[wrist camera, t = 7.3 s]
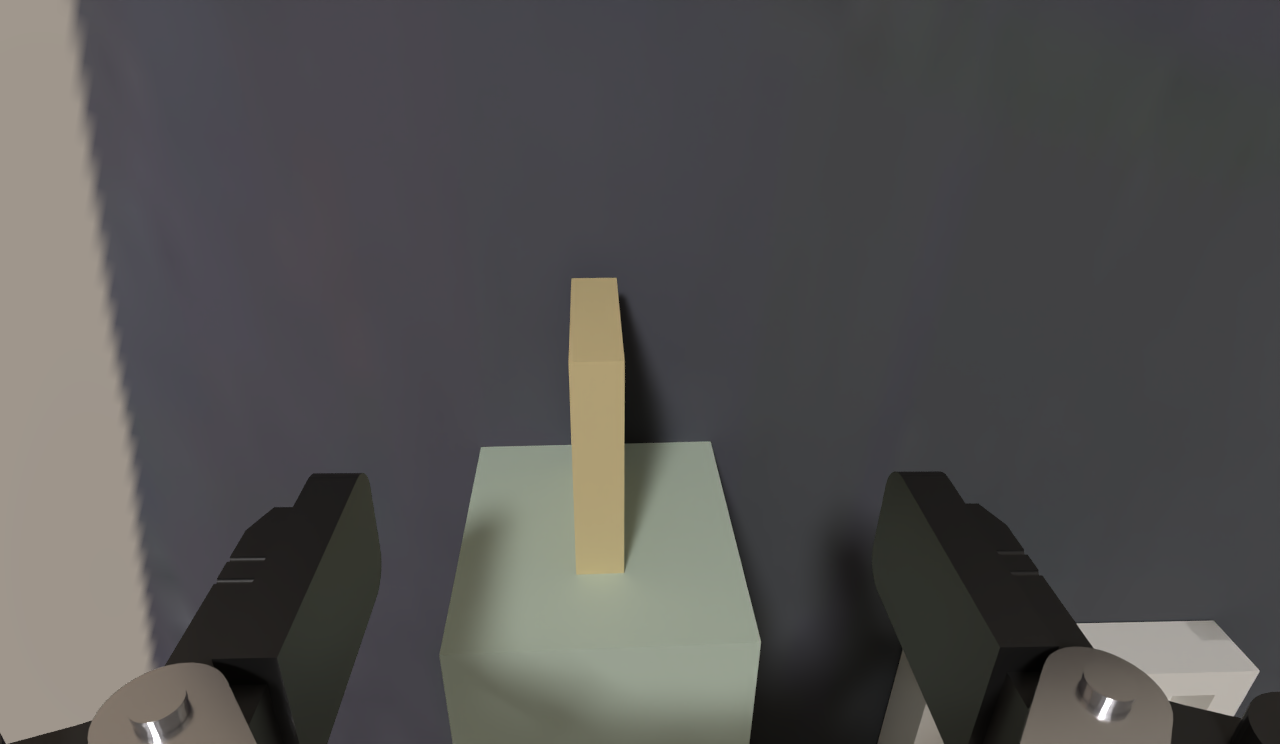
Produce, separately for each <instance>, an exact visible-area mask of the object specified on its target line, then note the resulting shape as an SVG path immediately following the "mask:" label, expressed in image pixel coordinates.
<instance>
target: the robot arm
mask: <svg viewBox="0 0 1280 744" xmlns="http://www.w3.org/2000/svg"><path fill="white" fill-rule="evenodd" d="M872 570H873V577H874V582H875V585H876V589H877V591H878V593H879V596H880V598H881V600H882V603H883V605H884V607H885V610H886V612H887V614H888V616H889V619H890V621H891V623H892V626H893V628H894V630H895V633H896V635H897V637H898V639H899V642H900V644H901V646H902V649H903V651H904V653H905V655H906V658H907V660H908V662H909V665H910V667H911V669H912V672H913V674H914V676H915V678H916V681H917V683H918V685H919V688H920V690H921V692H922V694H923V697H924V699H925V701H926V704H927V706H928V708H929V711H930V713H931V715H932V717H933V720H934V722H935V724H936V727H937V729H938V731H939V734H940V736H941V738H942V740H943V743H944V744H1280V692H1269V693H1265V694H1261V695H1259V696H1257V697H1255V698H1254V699H1253V700H1252V702H1251V703H1250V705H1249V706H1248V708H1247V710H1246V712H1245V714H1244V715H1243V717H1242V718H1238V717H1233V716H1229V715H1225V714H1221V713H1216V712H1212V711H1208V710H1204V709H1200V708H1195V707H1191V706H1187V705H1183V704H1179V703H1175V702H1172V701H1168V699H1167V697H1166V695H1165V694H1164V692H1163V691H1162V690H1161V688H1160V687H1159V686H1158V685H1157V684H1156V683H1155V682H1154V680H1152V679H1151V678H1150V677H1149V676H1148V675H1147V674H1146V673H1144V672H1143V671H1142V670H1140V669H1139V668H1137V667H1136V666H1135V665H1133V664H1131V663H1129V662H1128V661H1126V660H1124V659H1122V658H1120V657H1118V656H1116V655H1113V654H1111V653H1108V652H1105V651H1102V650H1098V649H1094V648H1093V647H1092V645H1091V644H1090V642H1089V641H1088V640H1087V638H1086V637H1085V635H1084V634H1083V632H1082V631H1081V630H1080V628H1079V627H1078V625H1077V624H1076V623H1075V621H1074V620H1073V618H1072V617H1071V615H1070V614H1069V613H1068V611H1067V610H1066V608H1065V607H1064V606H1063V604H1062V603H1061V601H1060V600H1059V599H1058V597H1057V596H1056V594H1055V593H1054V591H1053V590H1052V589H1051V587H1050V586H1049V584H1048V583H1047V582H1046V580H1045V579H1044V577H1043V576H1039V574H1038V569H1037V567H1036V566H1035V565H1034V563H1033V562H1032V560H1031V559H1030V558H1029V556H1028V555H1024V549H1023V548H1022V546H1021V545H1020V543H1019V542H1018V541H1017V539H1016V538H1015V536H1014V535H1013V534H1012V532H1011V531H1010V529H1009V528H1008V527H1007V525H1006V524H1004V523H1003V522H1002V521H1000V520H999V519H998V518H996V517H995V516H994V515H992V514H991V513H990V512H989V511H987V510H986V509H985V508H983V507H982V506H981V505H979V504H965V502H964V501H963V499H962V498H961V496H960V495H959V493H958V492H957V490H956V489H955V487H954V486H953V484H952V483H951V481H950V480H949V478H948V477H947V476H946V474H944V473H943V472H893V473H891V474H890V476H889V478H888V480H887V483H886V488H885V492H884V497H883V502H882V507H881V511H880V516H879V521H878V526H877V530H876V535H875V540H874V545H873V550H872ZM380 578H381V551H380V545H379V539H378V532H377V526H376V520H375V514H374V507H373V501H372V495H371V489H370V483H369V480H368V477H367V476H366V474H364V473H321V474H312V475H311V476H310V477H309V479H308V480H307V482H306V484H305V486H304V488H303V490H302V491H301V493H300V495H299V497H298V499H297V501H296V502H295V504H294V506H293V507H274V508H273V509H272V510H270V511H269V512H268V513H267V514H265V515H264V516H263V517H262V518H261V519H259V520H258V521H257V522H256V523H254V524H253V525H252V526H251V527H249V528H248V529H247V530H246V531H245V533H244V534H243V536H242V538H241V539H240V541H239V543H238V544H237V546H236V548H235V549H234V551H233V553H232V554H231V556H230V562H227V563H226V565H225V566H224V568H223V570H222V571H221V573H220V575H219V576H218V578H217V584H214V585H213V586H212V588H211V590H210V591H209V593H208V595H207V596H206V598H205V600H204V601H203V603H202V605H201V606H200V608H199V610H198V611H197V613H196V615H195V616H194V618H193V620H192V621H191V623H190V625H189V626H188V628H187V630H186V631H185V633H184V635H183V636H182V638H181V640H180V641H179V643H178V645H177V646H176V648H175V650H174V651H173V653H172V655H171V656H170V658H169V660H168V661H167V663H166V665H165V666H164V667H160V668H157V669H155V670H152V671H149V672H147V673H145V674H143V675H141V676H139V677H137V678H135V679H133V680H132V681H130V682H129V683H127V684H125V685H124V686H123V687H121V688H120V689H119V690H117V691H116V692H115V693H114V694H113V695H112V696H111V697H110V698H109V699H107V700H106V702H105V703H104V704H103V705H102V706H101V707H100V709H99V710H98V712H97V713H96V715H95V716H94V718H93V720H92V721H89V722H86V723H83V724H80V725H77V726H73V727H69V728H65V729H62V730H58V731H54V732H51V733H47V734H43V735H39V736H36V737H32V738H28V739H25V740H21V741H18V742H13V743H10V744H327V742H328V740H329V737H330V734H331V731H332V728H333V725H334V722H335V719H336V716H337V713H338V710H339V707H340V704H341V701H342V698H343V695H344V692H345V689H346V686H347V683H348V680H349V677H350V674H351V671H352V668H353V665H354V662H355V659H356V656H357V654H358V651H359V648H360V645H361V642H362V639H363V636H364V633H365V630H366V627H367V624H368V621H369V618H370V615H371V612H372V609H373V606H374V603H375V600H376V597H377V594H378V590H379V585H380ZM0 744H6V743H5V742H4V740H3V738H2V736H1V734H0Z"/></svg>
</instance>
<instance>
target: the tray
mask: <svg viewBox="0 0 1280 744" xmlns="http://www.w3.org/2000/svg"><path fill="white" fill-rule="evenodd" d="M1077 625H1078V627H1079V628H1080V630H1081V631H1082V632H1083V634H1084V635H1085V637H1086V638H1087V640H1088V641H1089V642H1090V644H1091V645H1092V647H1093V648H1094V649H1098V650H1102V651H1105V652H1108V653H1111V654H1113V655H1116V656H1118V657H1120V658H1122V659H1124V660H1126V661H1128V662H1129V663H1131V664H1133V665H1135V666H1136V667H1137V668H1139V669H1140V670H1142V671H1143V672H1144V673H1146V674H1147V675H1148V676H1149V677H1150V678H1151V679H1152V680H1154V682H1155V683H1156V684H1157V685H1158V686H1159V687H1160V688H1161V690H1162V691H1163V692H1164V694H1165V695H1166V697H1167V699H1168V701H1172V702H1175V703H1179V704H1183V705H1187V706H1191V707H1195V708H1200V709H1204V710H1208V711H1212V712H1216V713H1221V714H1225V715H1229V716H1234V715H1235V713H1236V711H1237V710H1238V708H1239V706H1240V704H1241V703H1242V701H1243V699H1244V697H1245V696H1246V694H1247V692H1248V691H1249V689H1250V687H1251V685H1252V684H1253V682H1254V680H1255V678H1256V677H1257V675H1258V673H1259V672H1260V671H1259V670H1258V668H1257V667H1256V666H1255V665H1254V664H1253V663H1252V662H1251V661H1250V660H1249V659H1248V658H1247V656H1246V655H1245V654H1244V653H1243V652H1242V651H1241V650H1240V649H1239V648H1238V647H1237V646H1236V645H1235V643H1234V642H1233V641H1232V640H1231V639H1230V638H1229V637H1228V636H1227V635H1226V634H1225V633H1224V631H1223V630H1222V629H1221V628H1220V627H1219V626H1218V625H1217V624H1216V623H1215V622H1214V621H1169V622H1123V623H1077ZM877 744H944V743H943V740H942V738H941V736H940V734H939V731H938V729H937V727H936V724H935V722H934V720H933V717H932V715H931V713H930V711H929V708H928V706H927V704H926V701H925V699H924V697H923V694H922V692H921V690H920V688H919V685H918V683H917V681H916V678H915V676H914V674H913V672H912V669H911V667H910V665H909V662H908V660H907V658H906V655H905V653H904V651H903V650H902V654H901V658H900V661H899V665H898V669H897V672H896V676H895V680H894V684H893V687H892V691H891V695H890V698H889V702H888V706H887V710H886V713H885V717H884V721H883V725H882V728H881V732H880V736H879V739H878V743H877Z"/></svg>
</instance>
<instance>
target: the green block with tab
mask: <svg viewBox="0 0 1280 744" xmlns="http://www.w3.org/2000/svg"><path fill="white" fill-rule="evenodd" d="M569 386H570V414H571V443H572V445H550V446H510V447H481V450H480V455H479V460H478V465H477V470H476V475H475V480H474V485H473V490H472V495H471V500H470V505H469V510H468V515H467V520H466V525H465V530H464V535H463V540H462V545H461V550H460V555H459V560H458V565H457V570H456V575H455V580H454V585H453V590H452V595H451V600H450V605H449V610H448V615H447V620H446V625H445V630H444V635H443V640H442V645H441V650H440V655H439V656H440V663H441V669H442V676H443V682H444V689H445V695H446V702H447V709H448V715H449V722H450V728H451V735H452V741H453V744H749V742H750V733H751V725H752V716H753V708H754V699H755V690H756V682H757V673H758V665H759V656H760V647H761V640H760V636H759V632H758V628H757V624H756V620H755V616H754V612H753V608H752V604H751V600H750V596H749V592H748V588H747V584H746V580H745V576H744V572H743V568H742V564H741V560H740V557H739V553H738V549H737V545H736V541H735V537H734V533H733V529H732V525H731V521H730V517H729V513H728V509H727V505H726V501H725V497H724V493H723V489H722V485H721V481H720V477H719V473H718V469H717V465H716V461H715V457H714V453H713V449H712V445H711V442H672V443H631V444H624V430H625V359H624V349H623V339H622V329H621V318H620V308H619V298H618V287H617V278H572V281H571V310H570V338H569Z"/></svg>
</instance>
